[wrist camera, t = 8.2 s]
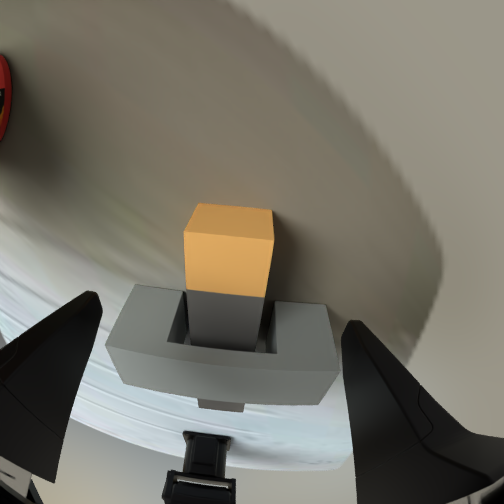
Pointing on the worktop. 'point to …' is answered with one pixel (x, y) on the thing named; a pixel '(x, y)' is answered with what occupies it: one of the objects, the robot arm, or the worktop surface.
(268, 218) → the plug
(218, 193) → the worktop surface
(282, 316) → the housing
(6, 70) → the canned food
